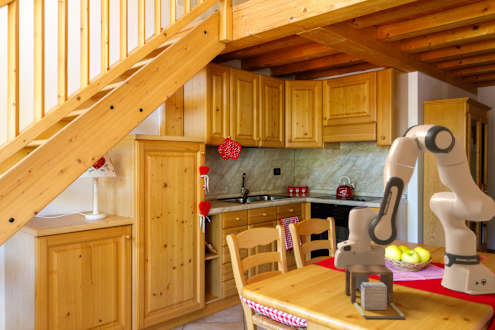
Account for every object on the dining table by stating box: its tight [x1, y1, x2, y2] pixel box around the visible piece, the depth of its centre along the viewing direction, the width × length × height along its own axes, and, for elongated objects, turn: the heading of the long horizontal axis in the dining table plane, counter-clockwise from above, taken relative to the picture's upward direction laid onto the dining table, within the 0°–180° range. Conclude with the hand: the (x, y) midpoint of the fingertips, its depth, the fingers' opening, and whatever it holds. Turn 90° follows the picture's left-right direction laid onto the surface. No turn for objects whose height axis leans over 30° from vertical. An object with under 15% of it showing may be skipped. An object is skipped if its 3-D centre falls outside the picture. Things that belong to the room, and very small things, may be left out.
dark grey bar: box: [363, 315, 406, 320], centre depth 126 cm, size 13×2×1 cm, turn 89°
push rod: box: [356, 275, 370, 292], centre depth 146 cm, size 8×18×7 cm, turn 179°
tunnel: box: [344, 265, 394, 305], centre depth 144 cm, size 15×10×12 cm, turn 89°
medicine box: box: [360, 281, 388, 311], centre depth 134 cm, size 8×4×9 cm, turn 88°
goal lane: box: [353, 302, 406, 318], centre depth 132 cm, size 14×11×1 cm
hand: (359, 279), depth 156 cm, fingers closed, pressing on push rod
